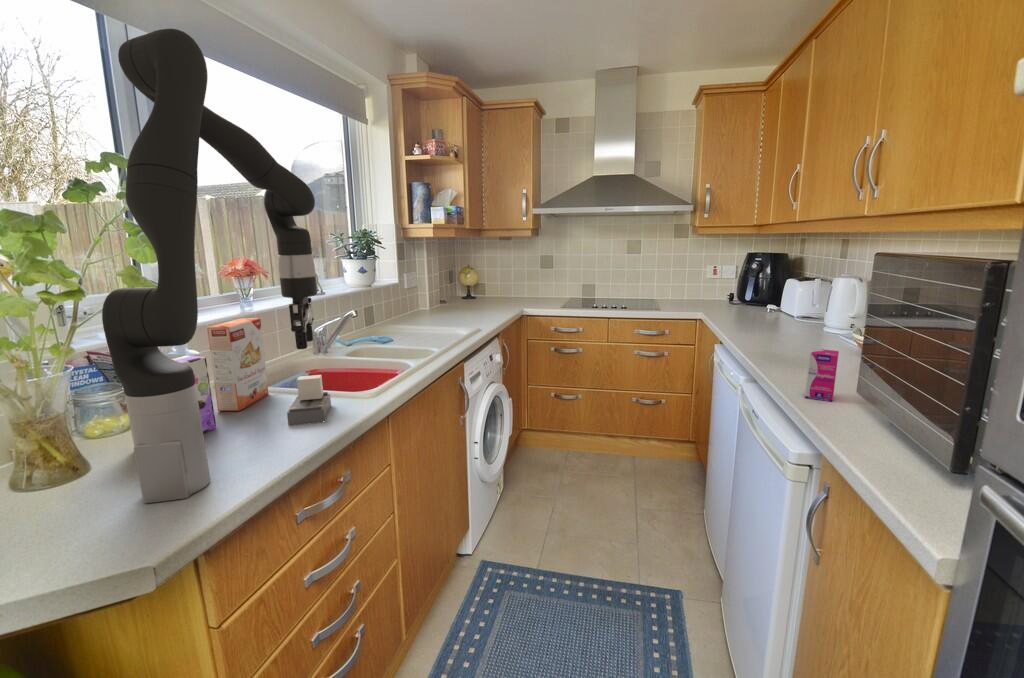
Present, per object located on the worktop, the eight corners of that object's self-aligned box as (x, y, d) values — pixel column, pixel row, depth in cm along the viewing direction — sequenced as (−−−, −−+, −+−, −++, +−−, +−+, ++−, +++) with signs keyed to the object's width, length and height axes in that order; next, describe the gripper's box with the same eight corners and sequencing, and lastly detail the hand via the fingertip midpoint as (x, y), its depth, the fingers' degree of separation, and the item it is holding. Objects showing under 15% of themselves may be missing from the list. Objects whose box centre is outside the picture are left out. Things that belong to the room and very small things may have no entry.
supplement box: (804, 398, 118) (808, 352, 116) (806, 392, 123) (810, 347, 121) (832, 402, 115) (838, 355, 113) (833, 395, 120) (838, 350, 117)
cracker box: (241, 411, 117) (229, 326, 113) (216, 412, 118) (204, 326, 113) (270, 393, 131) (261, 317, 127) (248, 394, 131) (238, 317, 127)
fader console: (324, 422, 109) (323, 406, 109) (288, 425, 108) (286, 410, 107) (331, 405, 120) (329, 391, 120) (298, 408, 119) (296, 394, 118)
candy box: (155, 454, 94) (140, 372, 91) (133, 450, 96) (118, 370, 93) (217, 428, 107) (207, 355, 104) (198, 425, 109) (186, 353, 106)
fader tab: (321, 398, 115) (319, 378, 114) (299, 400, 114) (296, 379, 113) (323, 394, 118) (321, 374, 117) (301, 396, 117) (299, 376, 116)
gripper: (310, 276, 104) (318, 350, 108) (319, 272, 118) (326, 337, 121) (272, 278, 103) (281, 353, 106) (286, 273, 116) (293, 340, 120)
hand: (305, 344), depth 114 cm, fingers open, 8 cm apart
